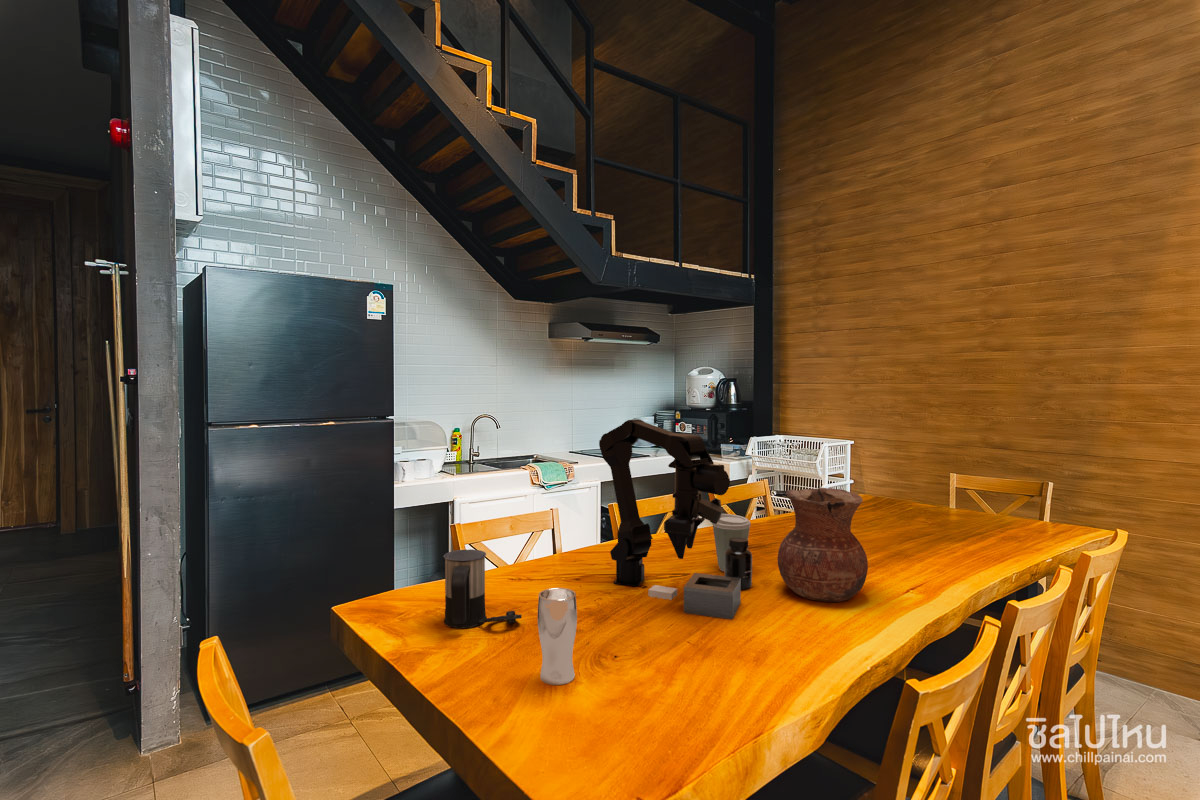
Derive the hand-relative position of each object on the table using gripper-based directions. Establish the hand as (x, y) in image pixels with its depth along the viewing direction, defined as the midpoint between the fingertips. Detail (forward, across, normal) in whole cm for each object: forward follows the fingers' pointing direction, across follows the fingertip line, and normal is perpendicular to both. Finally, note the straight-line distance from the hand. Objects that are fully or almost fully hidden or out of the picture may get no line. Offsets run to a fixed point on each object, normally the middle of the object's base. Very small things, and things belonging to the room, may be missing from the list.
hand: (685, 553), depth 151 cm
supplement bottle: (+12, +16, -10) cm, 22 cm away
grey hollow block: (+11, -2, -7) cm, 14 cm away
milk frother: (+12, -29, +38) cm, 49 cm away
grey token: (+12, +2, +6) cm, 13 cm away
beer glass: (+11, -46, +12) cm, 49 cm away
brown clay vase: (+11, +17, -30) cm, 37 cm away
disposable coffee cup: (+12, +28, -6) cm, 32 cm away
